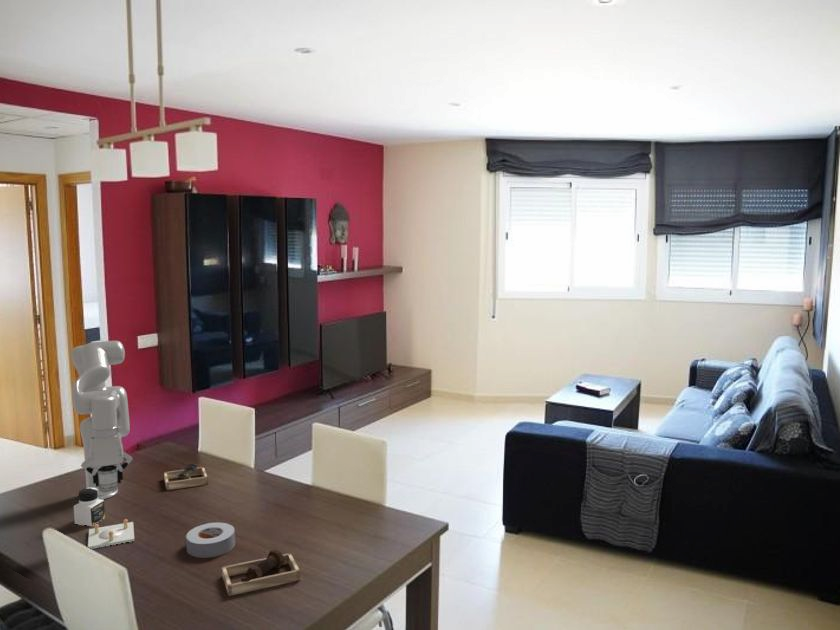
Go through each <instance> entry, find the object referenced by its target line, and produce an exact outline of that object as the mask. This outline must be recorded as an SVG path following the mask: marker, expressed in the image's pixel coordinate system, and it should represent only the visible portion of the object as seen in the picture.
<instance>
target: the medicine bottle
mask: <svg viewBox="0 0 840 630" xmlns="http://www.w3.org/2000/svg"><path fill="white" fill-rule="evenodd" d="M105 512H106V510H105V499H102V500H101V499H98V490H97V489H96V488H87V487H86V488H83V489H80V490H79V492H78V503H76V504H75V505H73V514H74V515H73V517H74V524H78V525H77V526H84V525H87V526H86V527H94V524H96V523H97V524H98V523H99V521H100V522H102V521H103V520H105V518H106V513H105ZM102 519H103V520H102Z"/></svg>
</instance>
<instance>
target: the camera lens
mask: <svg viewBox="0 0 840 630" xmlns="http://www.w3.org/2000/svg"><path fill="white" fill-rule="evenodd" d="M97 473H98V487H99V491H100V492H104V493H106V492H112V491H115V490H117V489H118V490H119V488H118V487H119V483H118V467H117V466H116V465H111V466H103V467H101V468H99V469H98V471H97Z"/></svg>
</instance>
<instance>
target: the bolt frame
mask: <svg viewBox="0 0 840 630" xmlns="http://www.w3.org/2000/svg"><path fill="white" fill-rule="evenodd" d="M282 555H283V558H284V562H283V564H282V565H281V566H286V565H288V566H289V568H290V571H285V572H281V573H275V574H272V575H271V574H270V575H266V576H262V577H261V578H256V579H252V580H249V581H243V582H241V581H239V582H235V583H232V582H231V579H230V577H232V576H233V577H234V576H237V575H238V576H239V575H244V574H245V573H247V570H248V568H249V567H250V566H252V565H255V566H257V565H258V564H260V563H261V562H263V561H264V560H266V559H267V557H264V558H259V559H253V560H249V561H244V562H238V563H235V564H229V565H225V566H222V567H221V577H222V579H223V582H224V586H225V590H226V592H227V596H228V597H232V596H236V595H240V594H245V593H248V592H253V591H258V590H262V589H267V588H271V587H276V586H280V585H284V584H285V585H286V584H290V583H293V582H298V581H301V570H300V568H299V566H298V564H297V562H296V560H295V559H294V557H293V555H292V553H291V552H287V553H282Z"/></svg>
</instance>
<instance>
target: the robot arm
mask: <svg viewBox="0 0 840 630" xmlns="http://www.w3.org/2000/svg"><path fill="white" fill-rule="evenodd" d="M70 355H71V357H70V358H71V360H72V363H73V367H74V368H75V371H77V374H78V377H77V379H76V380H75V381H74V383H73V385H72V390H71V395H72V396H71V397H72V404H73V405H72V406H73V409H74V412H75V413H76V414H79V415H91V416H90V417H86V418H84V419H83V420H82V421H81V423H80V424H79V432H80V435H81V440H82V445H83V446H82V447H83V454H84V456H83V457H84V461H83V462H82V463H81V464H80V467H81V468H83V469H84V470H85V471H84V472H85V483H86V484H85V485H86V488H96V489H97V490H98V499H101V500H106V499H110V498H111V497H112V498H113V497H114V496H115V495H117V494H118V492H119V488H118V489H117V490H115V491H112V492H106V493H104V492H100V491H99V487H98V473H97V471H98V469H99V468H101V467H103V466H111V465H114V466H116V467H117V468H118V484H121V483H122V480H124V477H123V474H124V473H123V471H124V470H125V469H126V468H127V467H128V465H130V464H131V462H132V461H133V457H132V456H131V455H129V454H128V453H126V452H125V451H124V447H123V446H124V445H123V440H122V438H123V437H127V436H128V435H129V433H130V430H131V429H130V427H131V426H130V424H131V423H130V415H129V414H130V413H129V402H128V401H129V400H128V394H127V391H126V389H125V388H124V387H123V386H120V385H113V386H106V381H107V380H108V379H109V377H110V374H111V368H110V366H114V365H121V364H122V363H123V362H124V360H125V357H126V351H125V347H124V344H123V343H122V342H121V341H120V340H105V341H103V340H102V341H92V342H89V343H86V344H83V345H78V346H75V347H73V349H72V350H71V353H70ZM124 458H125V459H126V460H125V461H124Z"/></svg>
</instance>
